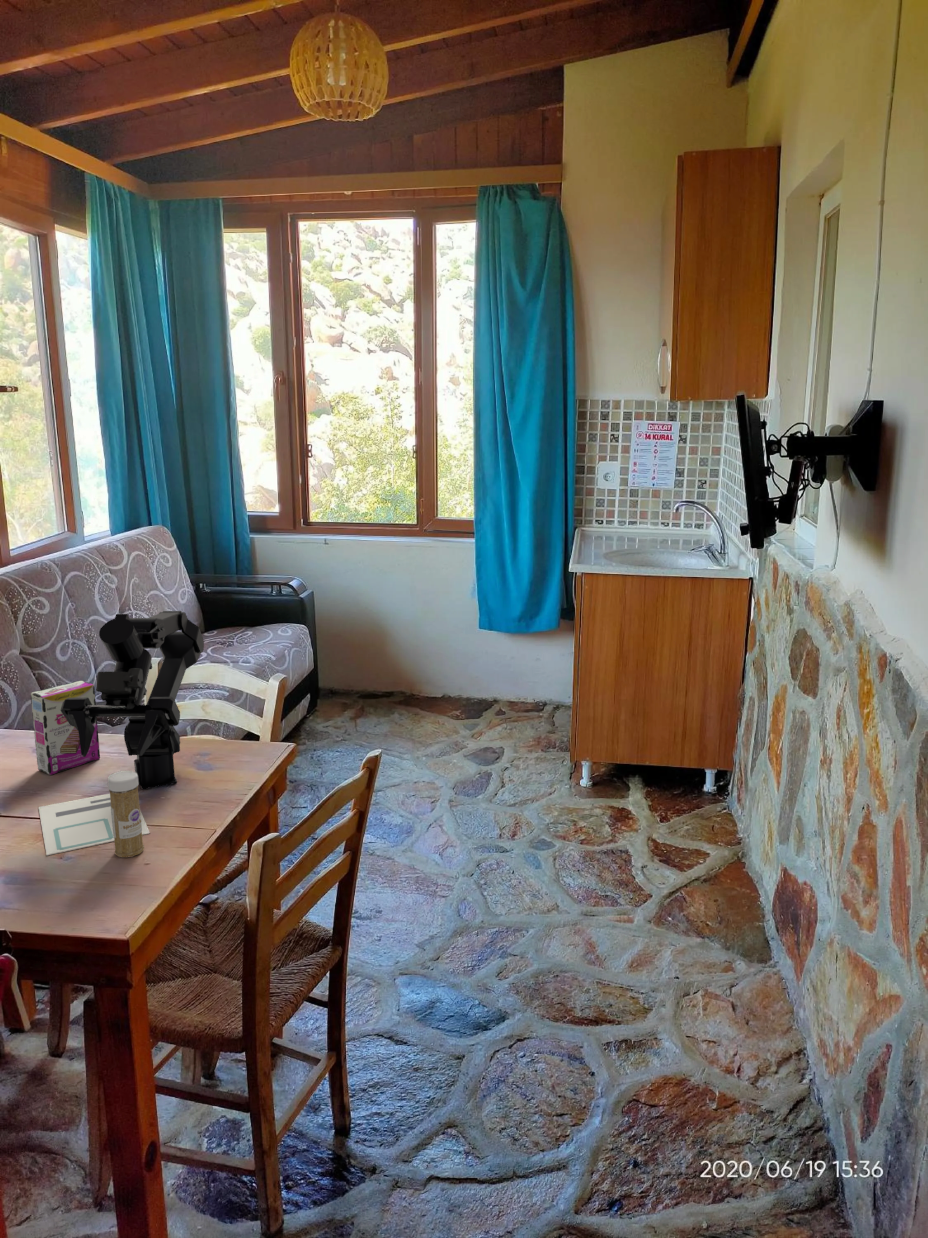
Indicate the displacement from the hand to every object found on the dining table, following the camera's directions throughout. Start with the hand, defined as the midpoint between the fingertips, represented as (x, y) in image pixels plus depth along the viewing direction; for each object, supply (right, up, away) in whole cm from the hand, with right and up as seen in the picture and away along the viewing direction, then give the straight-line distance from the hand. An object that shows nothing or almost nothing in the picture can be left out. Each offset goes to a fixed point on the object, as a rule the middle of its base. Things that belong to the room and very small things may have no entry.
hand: (111, 755), depth 145 cm
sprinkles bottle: (+4, -15, -3) cm, 16 cm away
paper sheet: (-6, -13, +8) cm, 16 cm away
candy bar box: (-21, -7, +32) cm, 39 cm away
